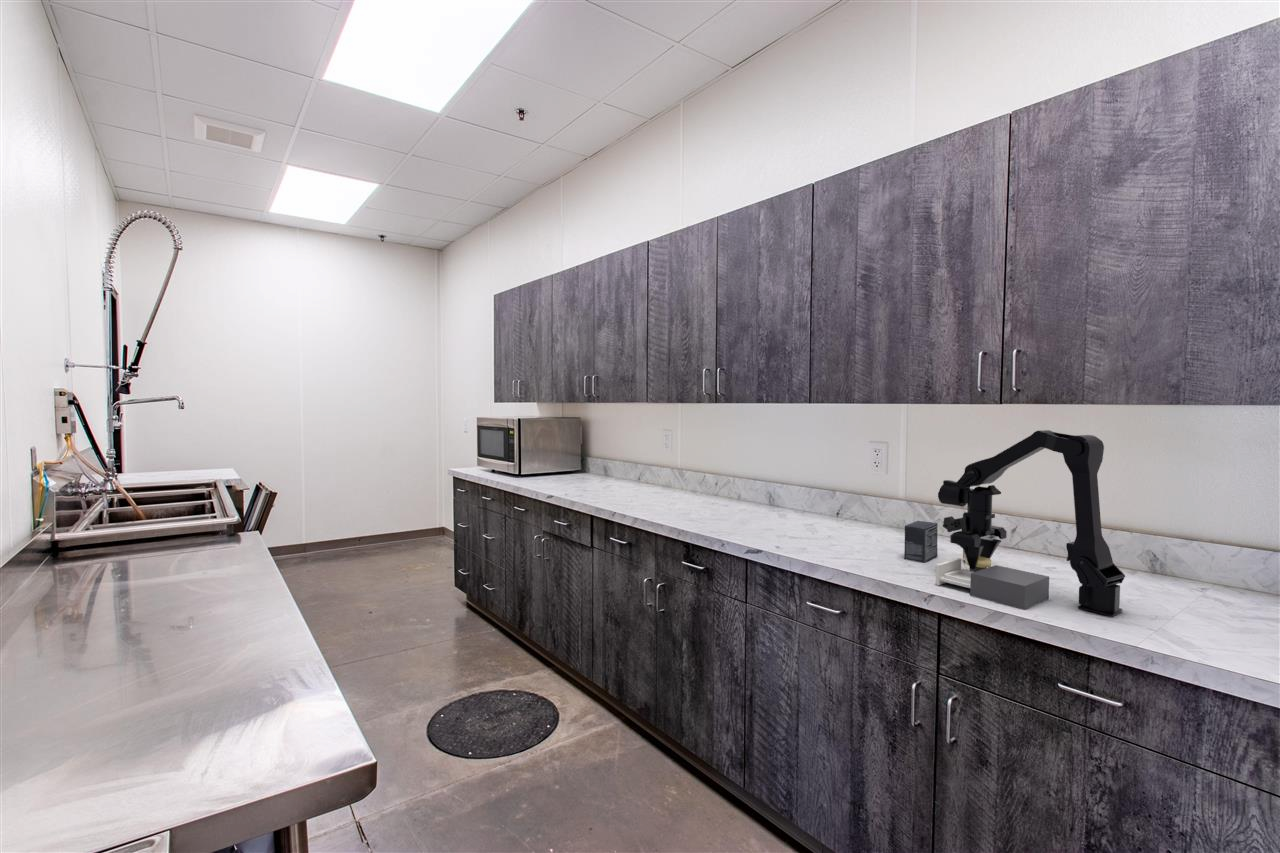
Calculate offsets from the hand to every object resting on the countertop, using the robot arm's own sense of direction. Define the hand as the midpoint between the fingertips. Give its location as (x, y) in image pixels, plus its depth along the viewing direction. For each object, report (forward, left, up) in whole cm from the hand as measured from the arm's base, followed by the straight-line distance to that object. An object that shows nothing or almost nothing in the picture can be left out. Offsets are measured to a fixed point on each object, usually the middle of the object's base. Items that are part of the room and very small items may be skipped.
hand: (978, 567), depth 157 cm
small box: (+20, -7, -3) cm, 21 cm away
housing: (-12, +10, -3) cm, 16 cm away
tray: (-3, +10, -3) cm, 11 cm away
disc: (0, 0, +1) cm, 1 cm away
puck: (0, 0, -3) cm, 3 cm away
